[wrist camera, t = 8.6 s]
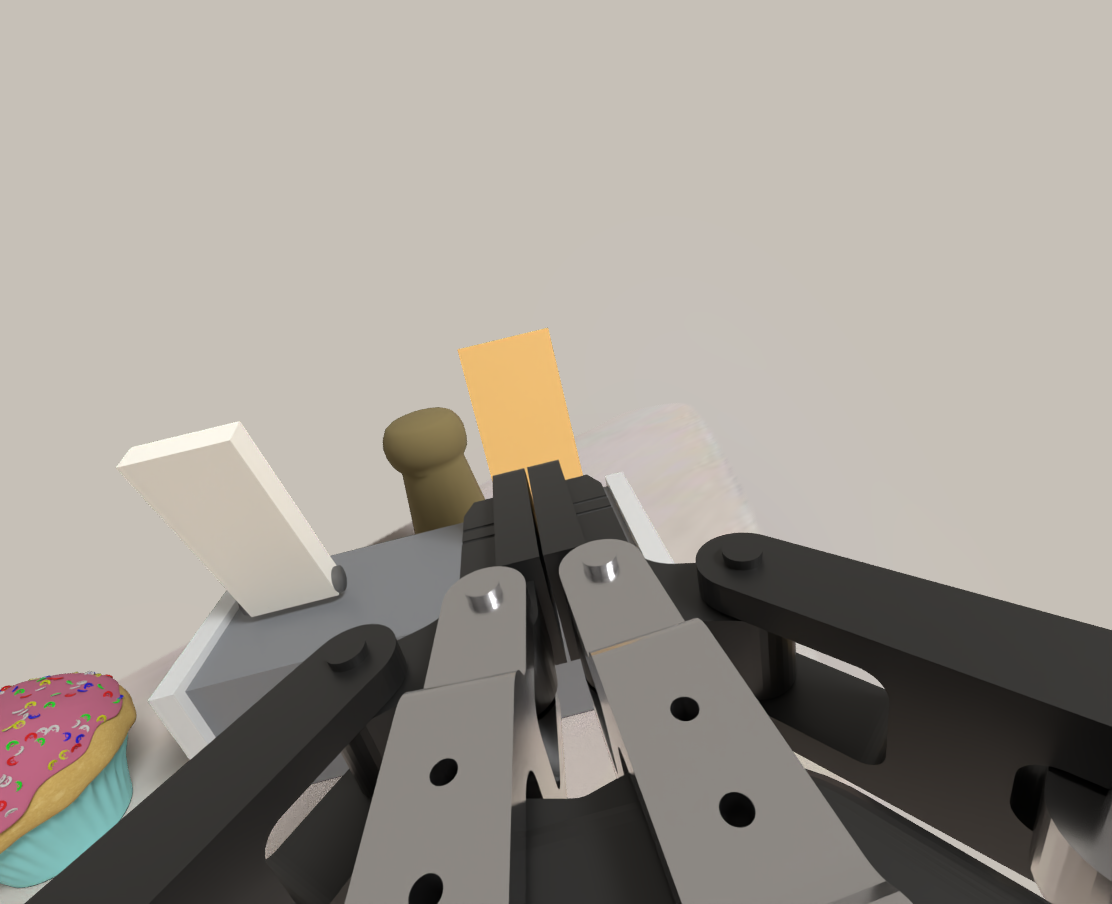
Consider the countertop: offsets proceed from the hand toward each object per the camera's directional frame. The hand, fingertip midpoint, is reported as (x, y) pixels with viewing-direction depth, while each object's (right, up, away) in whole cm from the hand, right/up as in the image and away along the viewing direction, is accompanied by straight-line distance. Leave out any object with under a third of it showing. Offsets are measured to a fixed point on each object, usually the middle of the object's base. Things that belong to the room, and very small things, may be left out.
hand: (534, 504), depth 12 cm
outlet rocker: (0, -3, +13) cm, 13 cm away
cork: (-6, -7, +26) cm, 27 cm away
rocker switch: (-11, -6, +13) cm, 18 cm away
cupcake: (-22, -16, +13) cm, 30 cm away
